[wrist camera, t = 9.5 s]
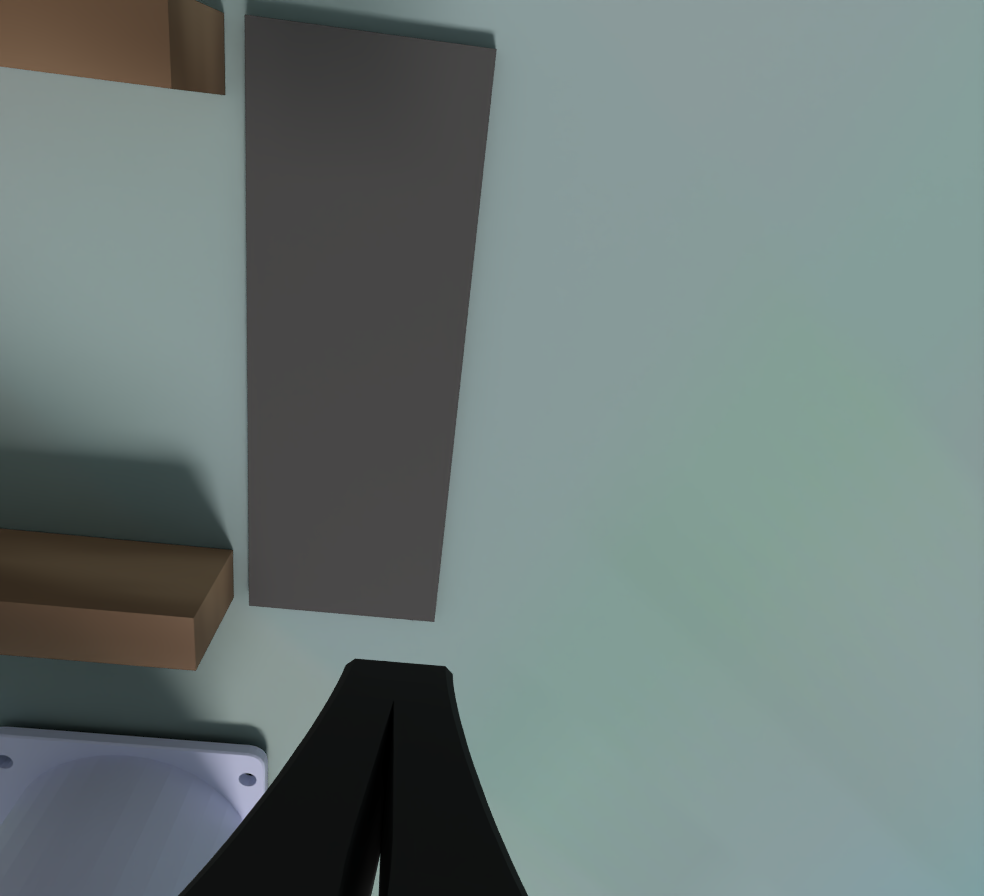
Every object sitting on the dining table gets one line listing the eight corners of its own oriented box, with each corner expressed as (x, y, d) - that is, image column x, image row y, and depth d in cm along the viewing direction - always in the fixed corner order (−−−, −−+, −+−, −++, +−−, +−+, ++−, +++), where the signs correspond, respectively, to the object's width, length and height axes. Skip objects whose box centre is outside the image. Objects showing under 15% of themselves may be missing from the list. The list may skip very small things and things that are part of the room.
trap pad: (434, 615, 21) (433, 621, 21) (252, 599, 21) (249, 605, 20) (496, 50, 15) (496, 49, 15) (249, 17, 15) (245, 14, 15)
